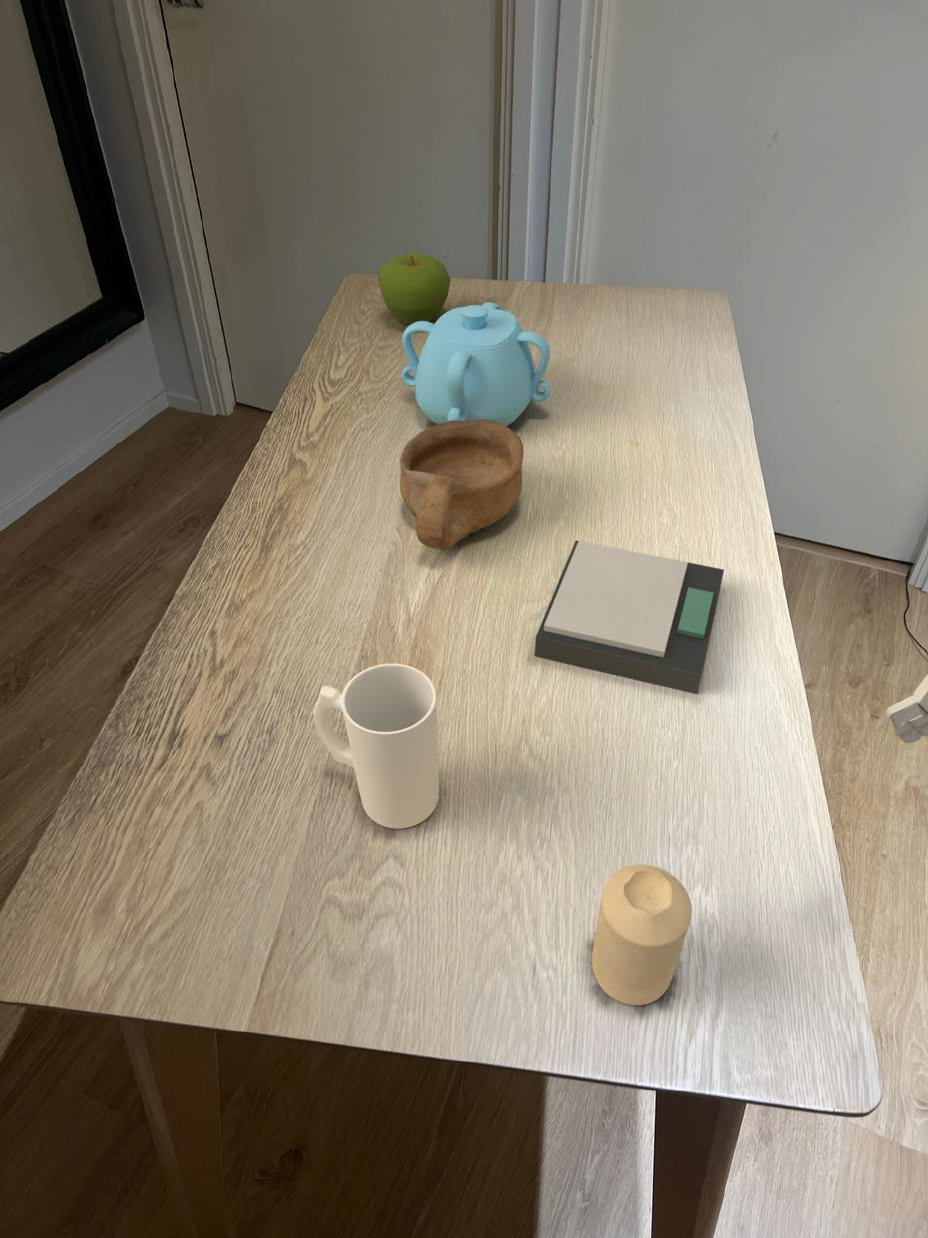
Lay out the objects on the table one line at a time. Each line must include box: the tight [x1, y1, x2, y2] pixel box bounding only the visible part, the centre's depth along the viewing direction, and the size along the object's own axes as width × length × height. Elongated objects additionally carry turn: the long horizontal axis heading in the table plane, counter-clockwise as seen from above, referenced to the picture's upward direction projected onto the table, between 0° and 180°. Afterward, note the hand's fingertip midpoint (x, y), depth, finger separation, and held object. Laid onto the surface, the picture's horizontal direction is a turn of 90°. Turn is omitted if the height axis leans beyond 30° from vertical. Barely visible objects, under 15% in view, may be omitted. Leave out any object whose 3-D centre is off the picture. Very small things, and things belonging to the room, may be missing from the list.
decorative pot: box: [401, 301, 553, 427], centre depth 110 cm, size 16×16×14 cm
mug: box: [313, 663, 440, 830], centre depth 68 cm, size 10×7×12 cm, turn 69°
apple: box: [377, 253, 451, 327], centre depth 131 cm, size 11×10×10 cm
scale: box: [534, 540, 725, 695], centre depth 85 cm, size 15×15×3 cm
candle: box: [591, 863, 693, 1006], centre depth 57 cm, size 6×6×10 cm
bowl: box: [399, 419, 525, 550], centre depth 95 cm, size 18×14×10 cm
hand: (924, 800), depth 45 cm, fingers open, 8 cm apart
